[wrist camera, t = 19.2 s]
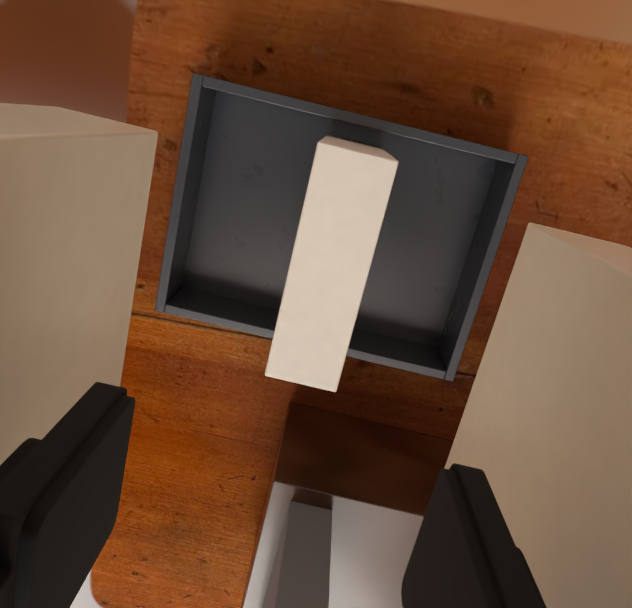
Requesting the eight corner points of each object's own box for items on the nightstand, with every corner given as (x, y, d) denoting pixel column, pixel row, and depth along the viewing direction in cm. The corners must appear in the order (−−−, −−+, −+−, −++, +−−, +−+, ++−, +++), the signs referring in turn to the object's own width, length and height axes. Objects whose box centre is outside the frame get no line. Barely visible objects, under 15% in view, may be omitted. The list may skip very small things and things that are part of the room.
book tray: (175, 289, 42) (154, 310, 37) (211, 78, 37) (192, 72, 33) (441, 353, 42) (453, 382, 37) (507, 151, 38) (529, 156, 33)
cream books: (22, 439, 20) (-401, 852, 9) (56, 106, 17) (-539, 64, 6) (506, 549, 21) (712, 1082, 9) (626, 245, 17) (1174, 476, 6)
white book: (289, 297, 40) (264, 376, 28) (327, 133, 37) (317, 140, 25) (339, 309, 40) (336, 393, 28) (381, 147, 37) (399, 161, 25)
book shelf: (254, 544, 48) (231, 650, 38) (289, 401, 44) (273, 480, 34) (495, 600, 48) (532, 719, 38) (551, 463, 44) (608, 559, 34)
